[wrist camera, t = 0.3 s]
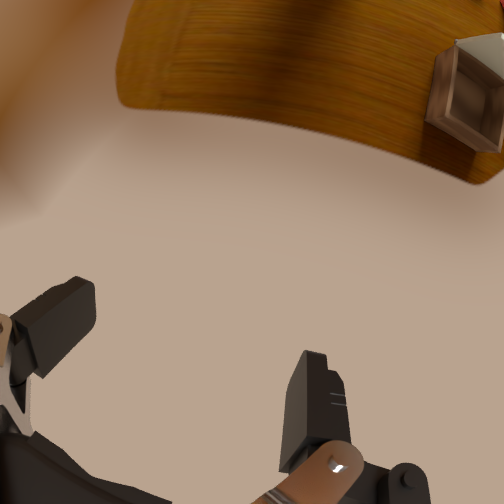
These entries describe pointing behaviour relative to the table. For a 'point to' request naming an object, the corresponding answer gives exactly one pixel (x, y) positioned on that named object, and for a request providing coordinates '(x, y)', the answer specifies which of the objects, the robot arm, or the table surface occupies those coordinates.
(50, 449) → the robot arm
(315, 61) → the table surface
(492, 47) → the lid
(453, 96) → the box
